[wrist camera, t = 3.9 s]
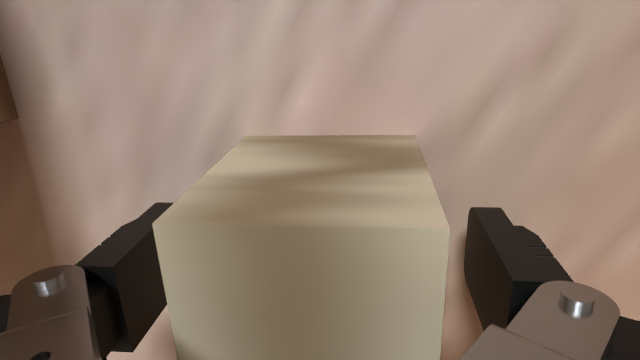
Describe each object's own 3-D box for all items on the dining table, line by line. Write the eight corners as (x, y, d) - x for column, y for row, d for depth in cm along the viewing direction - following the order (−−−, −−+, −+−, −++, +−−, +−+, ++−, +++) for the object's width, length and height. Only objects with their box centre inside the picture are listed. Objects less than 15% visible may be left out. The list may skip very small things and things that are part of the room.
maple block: (414, 134, 12) (450, 229, 7) (408, 282, 14) (432, 454, 9) (246, 135, 13) (151, 224, 7) (260, 277, 15) (191, 435, 9)
